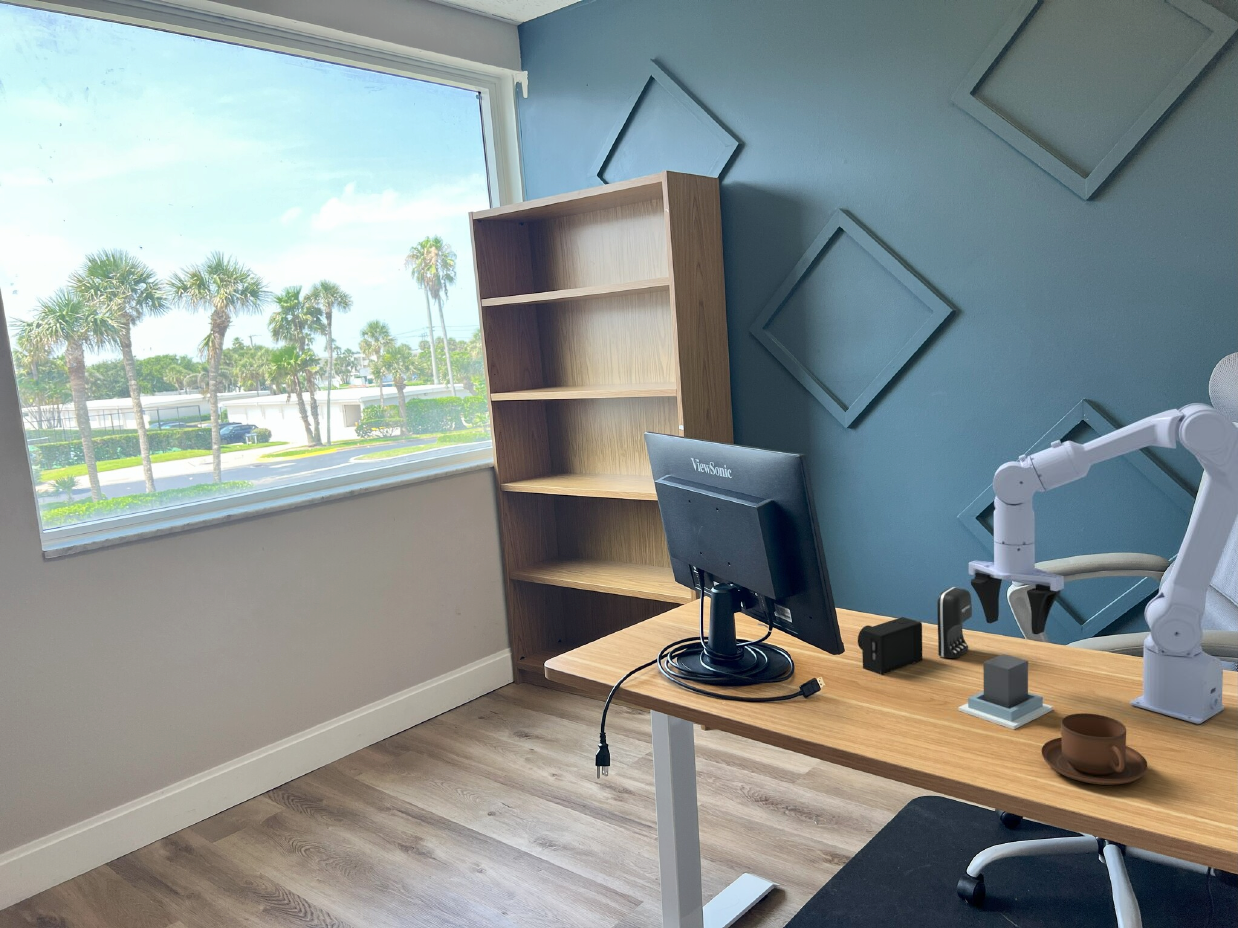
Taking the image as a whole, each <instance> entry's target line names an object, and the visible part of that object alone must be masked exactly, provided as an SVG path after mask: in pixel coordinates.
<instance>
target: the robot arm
mask: <svg viewBox="0 0 1238 928" xmlns="http://www.w3.org/2000/svg"><path fill="white" fill-rule="evenodd" d="M1176 442H1179V443H1180V444H1182V446H1183V447H1184V448H1185V449H1186V450H1187V451H1189V452H1190V453H1191V454H1192V455H1194V456H1195V458H1196V459H1197V462H1199V464H1200V465H1201V467H1202V468H1203V470H1204V471H1205V473H1206V474H1207V478H1206V480H1205V482H1204V486H1203V488H1202V491H1201V493H1200V496H1199V498H1198V501H1197V503H1196V506H1195V509H1194V512H1193V515H1192V517H1191V519H1190V522H1189V525H1188V527H1187V530H1186V532H1185V535H1184V537H1183V540H1182V542H1181V545H1180V548H1179V551H1178V554H1177V555H1176V558H1175V561H1174V564H1173V566H1172V569H1171V572H1170V574H1169V576H1168V578H1167V579H1166V580H1165V581H1164V582H1163V584H1162V585H1161V586H1160V587H1161V588H1160V590H1159V592H1158V593H1157V594H1156V596H1155V597H1153V598H1152V599H1151V600H1150V601H1149V602H1148V603H1147V605H1146V606H1145V609H1144V618H1145V622H1146V624H1147V626H1149V630H1150V633H1149V635H1148V636H1147V637H1146V638H1145V639H1144V640H1143V659H1142V660H1143V663H1142V665H1143V666H1142V667H1143V670H1142V695H1140V696H1138V697H1136V698H1134V699H1132V700H1131V701H1130V705H1131V706H1134V707H1138V708H1141V709H1145V710H1149V711H1151V712H1154V713H1158V714H1162V715H1166V716H1169V717H1172V718H1177V719H1179V720H1182V721H1183V720H1184V721H1186V722H1190V723H1194V724H1196V725H1197V724H1198V725H1199V724H1202V723H1203V722H1205V721H1207V720H1209V719H1210V718H1212V717H1213V716H1215V715H1217V714H1218V713H1220V712H1221V711H1223V710H1224V709H1225V706H1224V704H1223V681H1224V680H1223V679H1224V677H1223V676H1224V675H1223V674H1224V668H1223V663H1222V661H1221V659H1220V658H1219V657H1216V656H1213V655H1210V654H1208V653H1206V652H1205V651H1204V650H1203V648H1202V647H1203V646H1202V645H1201V644H1202V641H1203V637H1204V632H1203V628H1202V620H1203V617H1204V614H1205V611H1206V601H1207V600H1206V599H1207V592H1208V590H1209V587H1210V585H1211V583H1212V579H1213V578H1214V575H1215V572H1216V570H1217V567H1218V564H1219V562H1220V560H1221V557H1222V555H1223V553H1224V550H1225V548H1226V545H1227V543H1228V540H1229V537H1230V534H1231V533H1232V530H1233V527H1234V525H1235V522H1236V520H1237V517H1238V427H1237V425H1236V424H1235V423H1234V422H1233V421H1232V419H1230V418H1229V416H1228V415H1226V414H1225V413H1224V412H1222V411H1221V410H1217V409H1216V408H1215V407H1214V406H1212V405H1209V404H1206V403H1203V402H1195V403H1188V404H1187V405H1184V406H1182V407H1180V408H1179V409H1177V408H1172V409H1169V410H1165V411H1163V412H1159V413H1156V414H1153V415H1150V416H1147V417H1145V418H1142V419H1140V420H1138V421H1136V422H1133V423H1131V424H1129V425H1127V426H1124V427H1121V428H1118V429H1116V430H1114V431H1112V432H1110V433H1107V434H1105V435H1102V436H1101V437H1098V438H1097V437H1096V438H1095V439H1093V440H1090V441H1088V442H1085V443H1083V444H1082V443H1077V442H1074V441H1072V440H1067V441H1064V442H1061V440H1060V439H1058V440H1055V441H1053V442H1051V443H1050V446H1051V447H1049V448H1046V449H1043V450H1041V451H1038V452H1036V453H1033V454H1030V455H1027V454H1022V455H1019V456H1018V460H1019V461H1015V460H1013V461H1007V462H1005V463H1003V464H1001V465H1000V466H999V467H998V468H997V470H996V471H995V473H994V477H993V478H992V489H993V493H994V494H995V498H994V500H993V501H994V502H993V506H994V508H995V509H994V510H993V558H994V559H993V561H994V562H992V561H991V562H990V561H982V560H973V561H970V562H968V575H970V576H974V578H971V579H970V585H971V587H972V589H973V590H974V591H975V593H976V595H977V597H978V598H979V602H980V604H981V607H982V609H983V610H982V611H983V613H984V616H985V621H986V623H987V624H993V623H996V622H997V621H999V613H1000V611H999V610H1000V607H999V606H1000V605H999V604H1000V603H999V602H1000V601H999V599H1000V591H1001V587H1002V581H1003V580H1004V581H1009V582H1014V583H1019V584H1024V585H1029V586H1034V587H1033V588H1030V589H1028V590H1026V595H1027V598H1028V600H1029V601H1028V602H1029V607H1030V612H1031V614H1030V615H1031V623H1030V625H1031V632H1032V634H1033V635H1039V634H1042V633H1044V632H1045V629H1046V624H1047V620H1048V617H1049V614H1050V612H1051V609H1052V607H1053V605H1054V603H1055V601H1056V599H1057V598H1058V596H1059V594H1061V590H1063V589H1065V588H1064V587H1065V580H1064V578H1065V577H1064V575H1060V574H1056V573H1051V572H1048V571H1046V570H1043V569H1039V568H1037V567H1036V565H1035V563H1036V558H1035V557H1036V555H1035V554H1036V553H1035V552H1036V547H1035V546H1036V544H1035V543H1036V542H1035V541H1036V540H1035V539H1036V538H1035V537H1036V536H1035V533H1036V532H1035V531H1036V529H1035V528H1036V527H1035V525H1036V523H1035V522H1036V521H1035V515H1036V514H1035V511H1034V508H1033V496H1034V494H1035V493H1036V492H1041V493H1045V492H1047V491H1049V490H1053V489H1055V488H1057V487H1060V486H1061V487H1062V486H1063V485H1066V484H1068V483H1071V482H1074V481H1077V480H1079V479H1082V478H1085V477H1086V476H1087V475H1088V472H1089V471H1090V468H1091V466H1092V465H1094V464H1098V463H1100V462H1103V461H1106V460H1109V459H1112V458H1116V457H1118V456H1122V455H1124V454H1128V453H1131V452H1134V451H1137V450H1140V449H1143V448H1145V447H1150V446H1152V447H1153V446H1155V447H1162V448H1165V449H1166V448H1167V449H1175V450H1176V449H1177V443H1176Z"/></svg>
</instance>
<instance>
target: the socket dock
mask: <svg viewBox="0 0 1238 928" xmlns="http://www.w3.org/2000/svg"><path fill="white" fill-rule="evenodd" d="M957 710H958V711H959V712H961V713H965V714H968V715H970V716H973V717H977V718H978V719H979V718H980V719H981V720H985V721H988V722H991V723H993V724H997V725H1000V726H1003V727H1004V728H1005V727H1006V728H1008V729H1011V730H1015V729H1017V728H1019V727H1022V726H1024V725H1026V724H1028V723H1029V722H1031V721H1033V720H1035V719H1038V718H1039V717H1042V716H1043V715H1045V714H1047V713H1049V712H1052V711H1054V706H1053V705H1049V704H1047V703H1044V697H1043V696H1042V695H1039V694H1034V693H1031V692H1029V691H1028V700H1027V701H1025V702H1023V703H1021V704H1019V705H1017V706H1015V707H1013V708H1010V709H1008V708H1005V707H1002V706H999V705H996V704H993V703H990V702H987V701H984V690H982V691H981V692H978V693H976V694H974V695H971V696H969V697H967V703H965V704H963V705H960V706H958V709H957Z"/></svg>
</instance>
